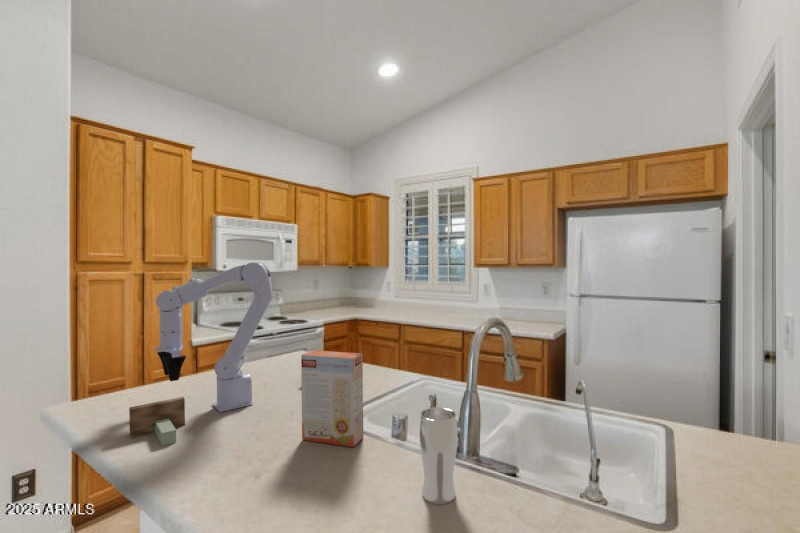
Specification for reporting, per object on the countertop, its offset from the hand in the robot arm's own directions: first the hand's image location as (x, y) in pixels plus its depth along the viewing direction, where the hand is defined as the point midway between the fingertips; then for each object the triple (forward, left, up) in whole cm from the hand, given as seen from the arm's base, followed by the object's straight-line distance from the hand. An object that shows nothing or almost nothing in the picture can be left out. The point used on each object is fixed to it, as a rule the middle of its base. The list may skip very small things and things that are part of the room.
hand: (171, 377), depth 117 cm
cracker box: (-26, +48, -10) cm, 55 cm away
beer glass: (-29, +81, -10) cm, 87 cm away
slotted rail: (+5, +14, -9) cm, 18 cm away
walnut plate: (+6, +14, -9) cm, 18 cm away
